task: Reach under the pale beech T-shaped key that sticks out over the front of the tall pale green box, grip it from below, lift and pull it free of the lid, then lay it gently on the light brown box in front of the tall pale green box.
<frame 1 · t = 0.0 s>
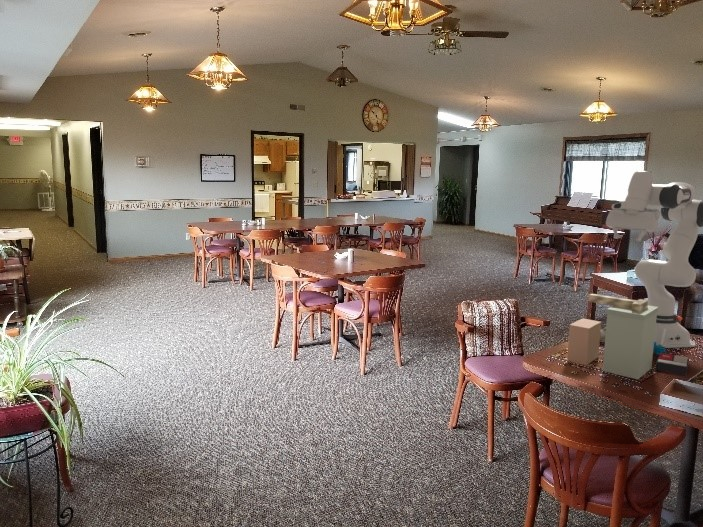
hand: (626, 239, 227), 52 cm above the table, fingers open, 8 cm apart
wooden key: (615, 305, 222), point 26 cm above the table, touching tall pale green box
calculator: (672, 368, 225), on the table
light brown box: (582, 358, 234), on the table
gear: (651, 356, 239), on the table
tall pale green box: (627, 369, 222), on the table
ceramic sculpture: (608, 344, 255), on the table
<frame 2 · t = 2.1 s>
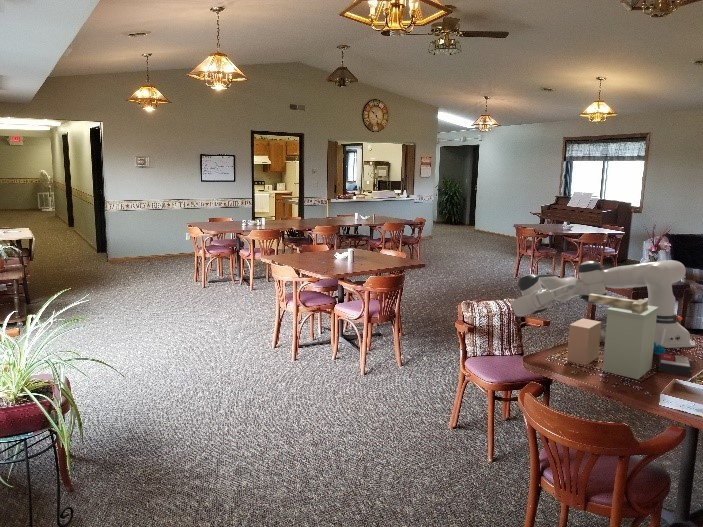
hand: (570, 287, 234), 31 cm above the table, fingers open, 8 cm apart
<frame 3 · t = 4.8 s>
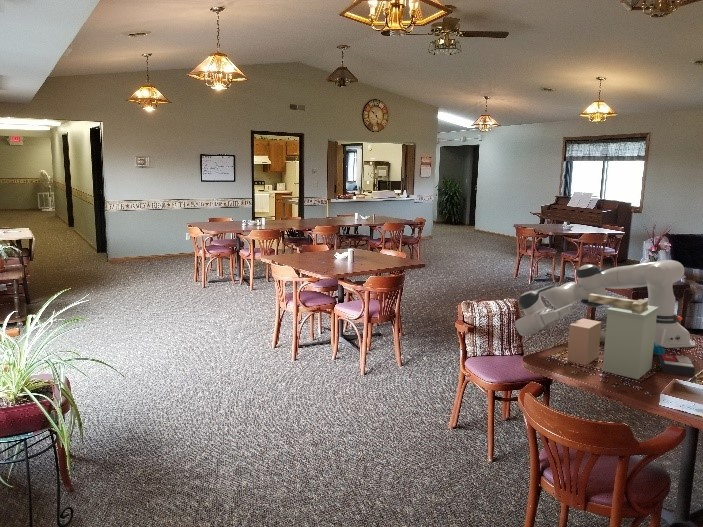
hand: (574, 307, 234), 22 cm above the table, fingers open, 8 cm apart
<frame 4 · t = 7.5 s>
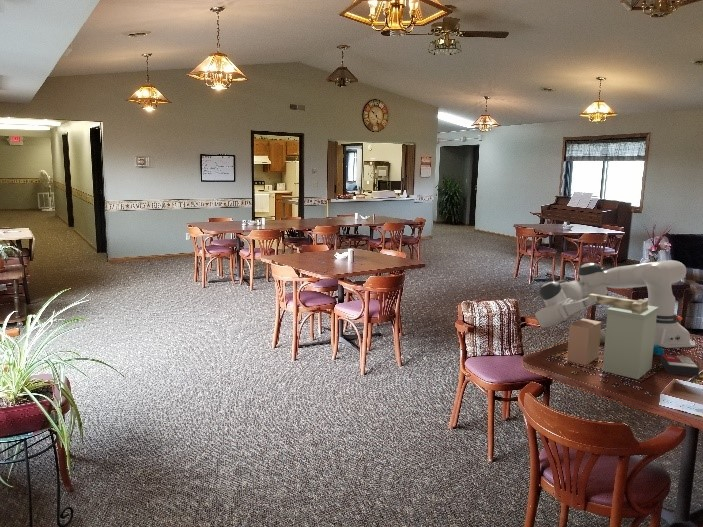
hand: (599, 297, 226), 28 cm above the table, fingers closed on wooden key, 3 cm apart
wooden key: (615, 305, 222), point 26 cm above the table, touching gripper, tall pale green box
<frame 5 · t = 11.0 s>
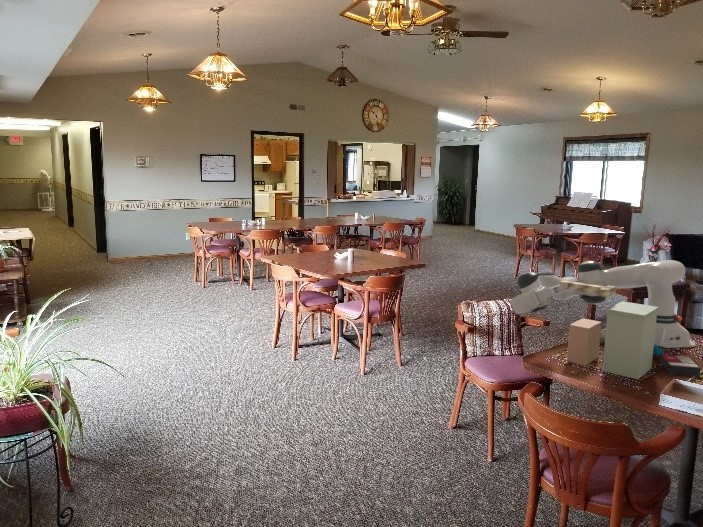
hand: (570, 284, 234), 32 cm above the table, fingers closed on wooden key, 3 cm apart
wooden key: (585, 291, 230), point 30 cm above the table, touching gripper
when the fingers open (19 cm above the table, at t = 14.7 s): wooden key drops 1 cm, resting on light brown box.
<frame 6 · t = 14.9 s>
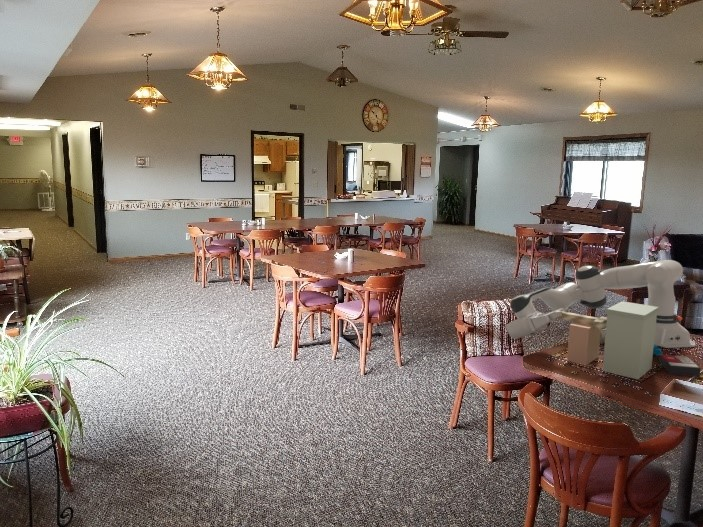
hand: (564, 311, 237), 19 cm above the table, fingers open, 5 cm apart
wooden key: (579, 322, 233), point 16 cm above the table, touching light brown box
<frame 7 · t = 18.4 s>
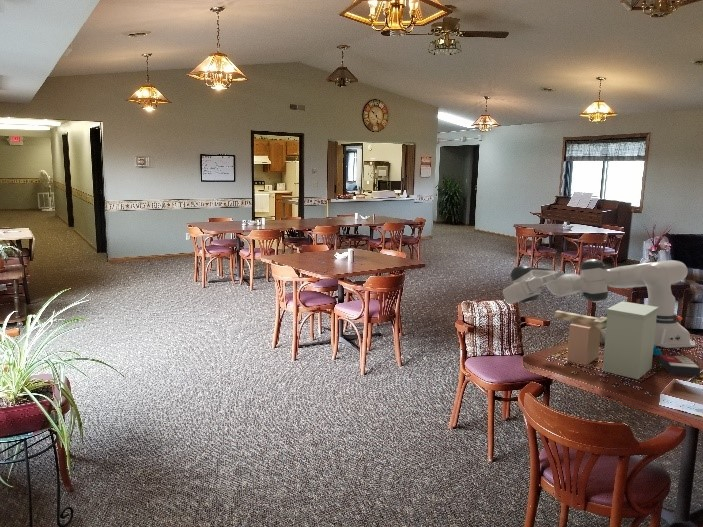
hand: (559, 274, 244), 34 cm above the table, fingers open, 8 cm apart
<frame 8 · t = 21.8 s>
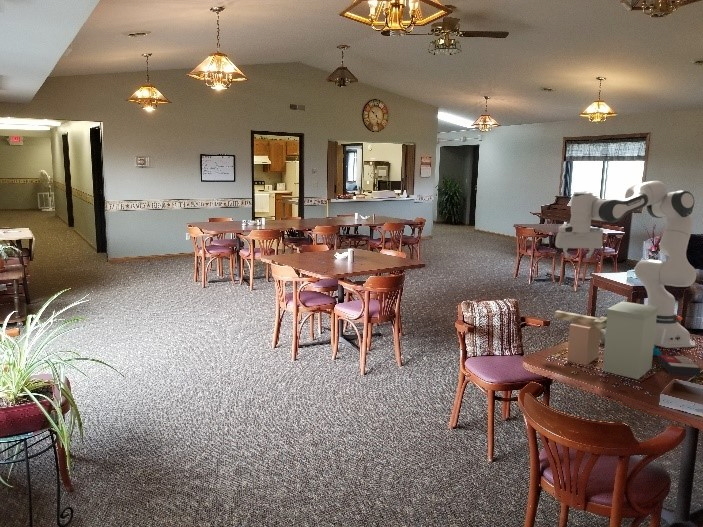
hand: (577, 257, 248), 41 cm above the table, fingers open, 8 cm apart
at the end: the gripper is holding nothing; wooden key inside the target area (0.4 cm from its centre), point 16.0 cm above the table; wooden key touching light brown box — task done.
